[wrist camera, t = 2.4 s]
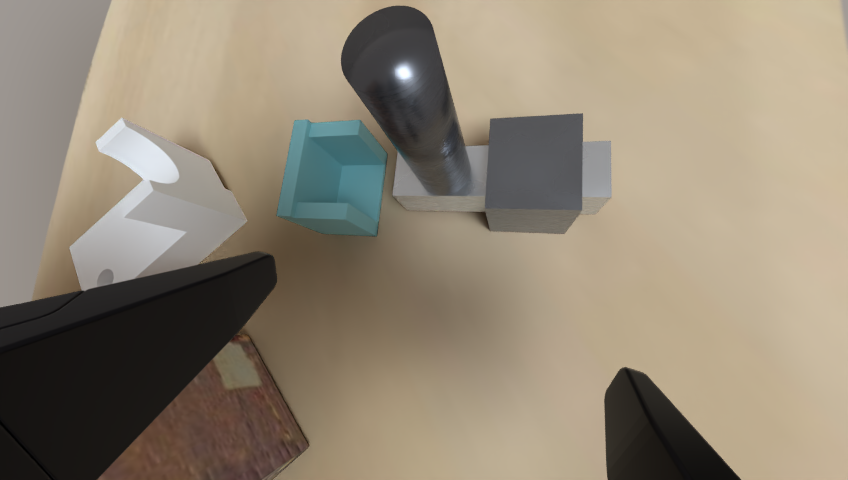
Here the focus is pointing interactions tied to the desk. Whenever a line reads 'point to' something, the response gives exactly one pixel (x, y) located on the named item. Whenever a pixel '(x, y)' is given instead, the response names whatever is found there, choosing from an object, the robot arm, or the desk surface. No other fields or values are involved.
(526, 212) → the outer sleeve
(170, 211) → the bracket
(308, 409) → the desk surface
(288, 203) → the socket block
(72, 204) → the desk surface
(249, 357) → the book
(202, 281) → the robot arm
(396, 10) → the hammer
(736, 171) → the desk surface
